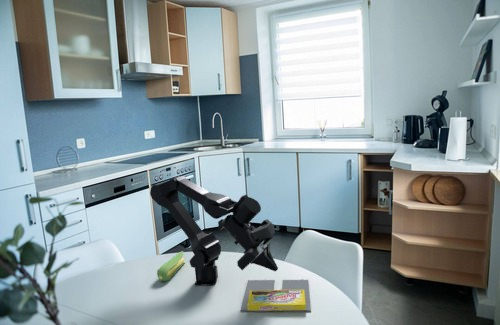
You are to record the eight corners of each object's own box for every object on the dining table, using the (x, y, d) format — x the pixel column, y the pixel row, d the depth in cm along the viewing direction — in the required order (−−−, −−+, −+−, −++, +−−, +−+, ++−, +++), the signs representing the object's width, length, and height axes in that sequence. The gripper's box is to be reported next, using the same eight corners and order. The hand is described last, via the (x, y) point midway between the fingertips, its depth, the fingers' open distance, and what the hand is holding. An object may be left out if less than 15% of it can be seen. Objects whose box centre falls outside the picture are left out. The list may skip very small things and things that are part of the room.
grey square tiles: (240, 311, 103) (240, 310, 103) (248, 281, 120) (247, 280, 120) (310, 311, 101) (310, 310, 100) (308, 280, 118) (308, 279, 118)
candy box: (304, 287, 108) (306, 304, 100) (304, 294, 108) (306, 311, 100) (249, 289, 110) (246, 305, 102) (250, 295, 110) (247, 312, 102)
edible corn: (151, 272, 122) (163, 269, 121) (178, 250, 141) (188, 247, 140) (156, 286, 123) (168, 283, 121) (182, 262, 142) (192, 259, 140)
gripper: (245, 225, 100) (286, 268, 97) (267, 205, 117) (302, 241, 115) (221, 249, 104) (259, 291, 102) (245, 227, 121) (279, 262, 119)
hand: (276, 270), depth 109 cm, fingers closed
